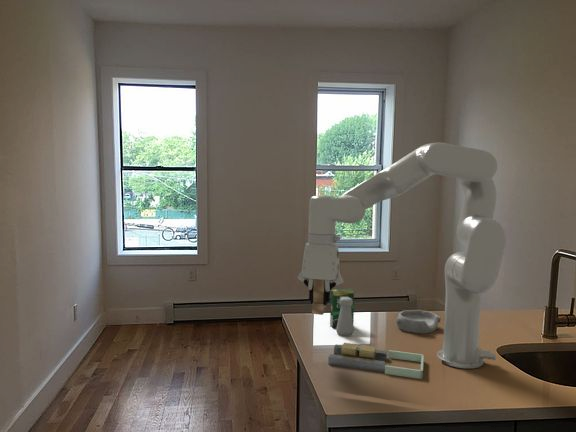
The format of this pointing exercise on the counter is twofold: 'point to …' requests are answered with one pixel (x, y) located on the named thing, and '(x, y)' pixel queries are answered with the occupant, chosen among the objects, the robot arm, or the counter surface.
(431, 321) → the dish
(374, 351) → the chip
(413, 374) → the tray
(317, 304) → the tan gable carton
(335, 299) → the coffee box
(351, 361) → the slot board
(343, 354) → the tan cube
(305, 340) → the counter surface
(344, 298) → the salt shaker
